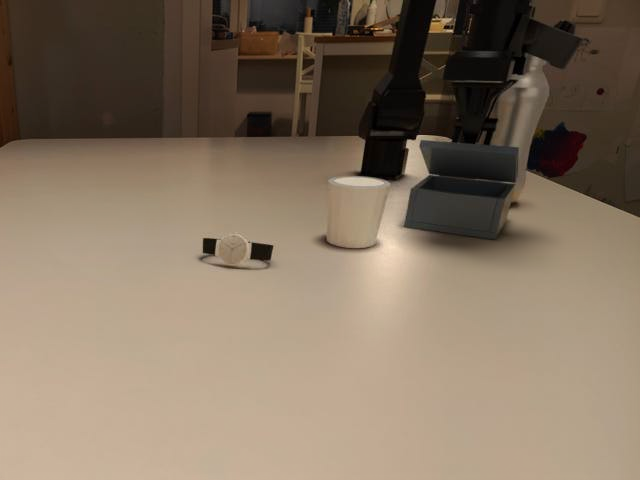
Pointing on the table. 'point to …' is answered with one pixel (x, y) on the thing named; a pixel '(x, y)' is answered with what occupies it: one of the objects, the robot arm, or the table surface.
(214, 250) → the watch
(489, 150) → the box lid
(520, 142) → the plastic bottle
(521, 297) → the table surface
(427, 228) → the grey box
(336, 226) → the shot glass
